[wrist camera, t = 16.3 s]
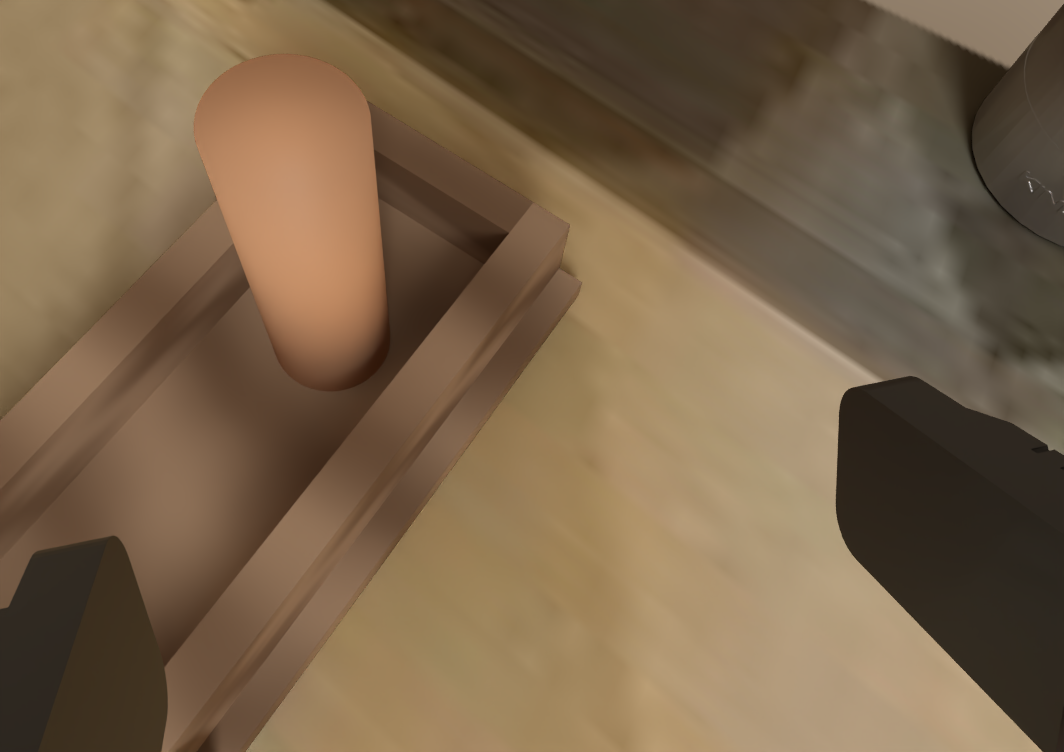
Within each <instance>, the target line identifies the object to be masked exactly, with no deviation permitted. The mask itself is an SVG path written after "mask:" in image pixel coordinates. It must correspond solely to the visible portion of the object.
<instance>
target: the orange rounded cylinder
mask: <svg viewBox="0 0 1064 752" xmlns="http://www.w3.org/2000/svg"><path fill="white" fill-rule="evenodd" d="M194 136H195V142H196V145H197V147H198V150H199V153H200V156H201V158H202V161H203V164H204V166H205V169H206V172H207V174H208V177H209V180H210V182H211V185H212V187H213V190H214V193H215V195H216V198H217V201H218V203H219V206H220V209H221V211H222V214H223V217H224V219H225V222H226V225H227V227H228V230H229V233H230V235H231V238H232V240H233V243H234V246H235V248H236V251H237V254H238V256H239V259H240V262H241V264H242V267H243V270H244V272H245V275H246V278H247V280H248V283H249V286H250V288H251V291H252V293H253V296H254V299H255V301H256V304H257V307H258V309H259V312H260V315H261V317H262V320H263V323H264V325H265V328H266V331H267V333H268V336H269V339H270V341H271V344H272V346H273V349H274V352H275V354H276V357H277V360H278V362H279V363H280V365H281V367H282V368H283V370H284V371H285V372H286V373H287V374H288V375H289V376H290V377H291V378H292V379H293V380H295V381H296V382H298V383H300V384H301V385H303V386H306V387H308V388H311V389H315V390H319V391H341V390H346V389H349V388H352V387H355V386H357V385H359V384H361V383H363V382H365V381H366V380H368V379H369V378H370V377H371V376H373V375H374V374H375V373H376V372H377V371H378V369H379V368H380V367H381V365H382V364H383V362H384V360H385V358H386V356H387V354H388V351H389V346H390V326H389V314H388V303H387V292H386V281H385V270H384V259H383V247H382V236H381V225H380V214H379V203H378V192H377V181H376V169H375V158H374V147H373V136H372V125H371V114H370V110H369V106H368V104H367V101H366V99H365V97H364V95H363V93H362V92H361V90H360V89H359V87H358V86H357V85H356V84H355V83H354V81H353V80H352V79H350V78H349V77H348V76H347V75H346V74H345V73H343V72H342V71H340V70H339V69H338V68H336V67H334V66H332V65H330V64H328V63H326V62H324V61H321V60H319V59H315V58H311V57H308V56H302V55H295V54H273V55H267V56H261V57H257V58H253V59H250V60H247V61H245V62H242V63H240V64H238V65H236V66H234V67H232V68H231V69H229V70H227V71H226V72H224V73H223V74H222V75H221V76H219V77H218V78H217V79H216V80H215V81H214V82H213V83H212V84H211V85H210V86H209V87H208V89H207V90H206V92H205V93H204V94H203V96H202V98H201V100H200V102H199V104H198V107H197V110H196V113H195V119H194Z"/></svg>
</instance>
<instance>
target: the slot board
mask: <svg viewBox="0 0 1064 752" xmlns="http://www.w3.org/2000/svg"><path fill="white" fill-rule="evenodd" d="M366 101H367V100H366ZM367 104H368V106H369V110H370V114H371V125H372V136H373V147H374V158H375V169H376V181H377V192H378V203H379V214H380V225H381V236H382V247H383V259H384V270H385V281H386V292H387V303H388V314H389V326H390V346H389V351H388V354H387V356H386V358H385V360H384V362H383V364H382V365H381V367H380V368H379V369H378V371H377V372H376V373H375V374H374V375H373V376H371V377H370V378H369V379H368V380H366V381H365V382H363V383H361V384H359V385H357V386H355V387H352V388H349V389H346V390H341V391H319V390H315V389H311V388H308V387H306V386H303V385H301V384H300V383H298V382H296V381H295V380H293V379H292V378H291V377H290V376H289V375H288V374H287V373H286V372H285V371H284V370H283V368H282V367H281V365H280V363H279V362H278V360H277V357H276V354H275V352H274V349H273V346H272V344H271V341H270V339H269V336H268V333H267V331H266V328H265V325H264V323H263V320H262V317H261V315H260V312H259V309H258V307H257V304H256V301H255V299H254V296H253V293H252V291H251V288H250V286H249V283H248V280H247V278H246V275H245V272H244V270H243V267H242V264H241V262H240V259H239V256H238V254H237V251H236V248H235V246H234V243H233V240H232V238H231V235H230V233H229V230H228V227H227V225H226V222H225V219H224V217H223V214H222V211H221V209H220V206H219V203H218V201H217V200H216V201H215V202H214V203H213V204H212V205H211V206H210V207H209V208H208V209H207V210H206V211H205V212H204V213H203V214H202V215H201V216H200V217H199V218H198V219H197V220H196V221H195V222H194V223H193V224H192V225H191V226H190V227H189V228H188V229H187V230H186V231H185V232H184V233H183V234H182V235H181V236H180V237H179V238H178V240H177V241H176V242H175V243H174V244H173V245H172V246H171V247H170V248H169V249H168V250H167V251H166V252H165V253H164V254H163V255H162V256H161V257H160V258H159V259H158V260H157V261H156V262H155V263H154V264H153V265H152V266H151V267H150V268H149V269H148V270H147V271H146V272H145V273H144V274H143V275H142V276H141V277H140V278H139V279H138V280H137V281H136V282H135V283H134V284H133V285H132V286H131V287H130V289H129V290H128V291H127V292H126V293H125V294H124V295H123V296H122V297H121V298H120V299H119V300H118V301H117V302H116V303H115V304H114V305H113V306H112V307H111V308H110V309H109V310H108V311H107V312H106V313H105V314H104V315H103V316H102V317H101V318H100V319H99V320H98V321H97V322H96V323H95V324H94V325H93V326H92V327H91V328H90V329H89V330H88V331H87V332H86V333H85V334H84V335H83V336H82V337H81V339H80V340H79V341H78V342H77V343H76V344H75V345H74V346H73V347H72V348H71V349H70V350H69V351H68V352H67V353H66V354H65V355H64V356H63V357H62V358H61V359H60V360H59V361H58V362H57V363H56V364H55V365H54V366H53V367H52V368H51V369H50V370H49V371H48V372H47V373H46V374H45V375H44V376H43V377H42V378H41V379H40V380H39V381H38V382H37V383H36V384H35V385H34V386H33V388H32V389H31V390H30V391H29V392H28V393H27V394H26V395H25V396H24V397H23V398H22V399H21V400H20V401H19V402H18V403H17V404H16V405H15V406H14V407H13V408H12V409H11V410H10V411H9V412H8V413H7V414H6V415H5V416H4V417H3V418H2V419H1V420H0V609H2V608H7V607H9V605H10V602H11V600H12V598H13V596H14V594H15V591H16V589H17V587H18V585H19V583H20V580H21V578H22V576H23V574H24V572H25V569H26V567H27V565H28V563H29V560H30V558H31V557H32V555H33V554H34V553H35V552H36V551H39V550H44V549H49V548H54V547H59V546H64V545H69V544H74V543H79V542H84V541H89V540H93V539H98V538H103V537H108V536H116V537H118V538H119V539H120V540H121V542H122V543H123V545H124V547H125V549H126V551H127V554H128V556H129V559H130V562H131V565H132V568H133V571H134V574H135V577H136V580H137V583H138V586H139V589H140V592H141V595H142V598H143V601H144V604H145V607H146V610H147V614H148V617H149V620H150V623H151V626H152V629H153V632H154V635H155V638H156V641H157V644H158V647H159V650H160V653H161V656H162V660H163V664H164V669H165V674H166V682H167V693H168V713H167V721H166V727H165V733H164V739H163V745H162V751H161V752H246V750H247V749H248V747H249V746H250V745H251V743H252V742H253V741H254V739H255V738H256V737H257V735H258V734H259V732H260V731H261V730H262V728H263V727H264V726H265V724H266V723H267V721H268V720H269V719H270V717H271V716H272V715H273V713H274V712H275V710H276V709H277V708H278V706H279V705H280V704H281V702H282V701H283V699H284V698H285V697H286V695H287V694H288V693H289V691H290V690H291V688H292V687H293V686H294V684H295V683H296V682H297V680H298V679H299V678H300V676H301V675H302V673H303V672H304V671H305V669H306V668H307V667H308V665H309V664H310V662H311V661H312V660H313V658H314V657H315V656H316V654H317V653H318V651H319V650H320V649H321V647H322V646H323V645H324V643H325V642H326V640H327V639H328V638H329V636H330V635H331V634H332V632H333V631H334V629H335V628H336V627H337V625H338V624H339V623H340V621H341V620H342V619H343V617H344V616H345V614H346V613H347V612H348V610H349V609H350V608H351V606H352V605H353V603H354V602H355V601H356V599H357V598H358V597H359V595H360V594H361V592H362V591H363V590H364V588H365V587H366V586H367V584H368V583H369V581H370V580H371V579H372V577H373V576H374V575H375V573H376V572H377V570H378V569H379V568H380V566H381V565H382V564H383V562H384V561H385V560H386V558H387V557H388V555H389V554H390V553H391V551H392V550H393V549H394V547H395V546H396V544H397V543H398V542H399V540H400V539H401V538H402V536H403V535H404V533H405V532H406V531H407V529H408V528H409V527H410V525H411V524H412V522H413V521H414V520H415V518H416V517H417V516H418V514H419V513H420V511H421V510H422V509H423V507H424V506H425V505H426V503H427V502H428V501H429V499H430V498H431V496H432V495H433V494H434V492H435V491H436V490H437V488H438V487H439V485H440V484H441V483H442V481H443V480H444V479H445V477H446V476H447V474H448V473H449V472H450V470H451V469H452V468H453V466H454V465H455V463H456V462H457V461H458V459H459V458H460V457H461V455H462V454H463V453H464V451H465V450H466V448H467V447H468V446H469V444H470V443H471V442H472V440H473V439H474V437H475V436H476V435H477V433H478V432H479V431H480V429H481V428H482V426H483V425H484V424H485V422H486V421H487V420H488V418H489V417H490V415H491V414H492V413H493V411H494V410H495V409H496V407H497V406H498V404H499V403H500V402H501V400H502V399H503V398H504V396H505V395H506V394H507V392H508V391H509V389H510V388H511V387H512V385H513V384H514V383H515V381H516V380H517V378H518V377H519V376H520V374H521V373H522V372H523V370H524V369H525V367H526V366H527V365H528V363H529V362H530V361H531V359H532V358H533V356H534V355H535V354H536V352H537V351H538V350H539V348H540V347H541V345H542V344H543V343H544V341H545V340H546V339H547V337H548V336H549V335H550V333H551V332H552V330H553V329H554V328H555V326H556V325H557V324H558V322H559V321H560V319H561V318H562V317H563V315H564V314H565V313H566V311H567V310H568V308H569V307H570V306H571V304H572V303H573V302H574V300H575V299H576V297H577V296H578V294H579V291H580V288H581V285H582V282H581V281H579V280H578V279H576V278H574V277H573V276H571V275H570V274H568V273H566V272H565V271H563V270H561V269H560V264H561V260H562V256H563V252H564V248H565V244H566V240H567V236H568V232H569V228H570V224H568V223H566V222H565V221H563V220H561V219H560V218H558V217H556V216H555V215H553V214H552V213H550V212H548V211H547V210H545V209H543V208H542V207H540V206H538V205H537V204H535V203H534V202H532V201H530V200H529V199H527V198H525V197H524V196H522V195H520V194H519V193H517V192H516V191H514V190H512V189H511V188H509V187H507V186H506V185H504V184H502V183H501V182H499V181H498V180H496V179H494V178H493V177H491V176H489V175H488V174H486V173H484V172H483V171H481V170H480V169H478V168H476V167H475V166H473V165H471V164H470V163H468V162H466V161H465V160H463V159H462V158H460V157H458V156H457V155H455V154H453V153H452V152H450V151H448V150H447V149H445V148H443V147H442V146H440V145H439V144H437V143H435V142H434V141H432V140H430V139H429V138H427V137H425V136H424V135H422V134H421V133H419V132H417V131H416V130H414V129H412V128H411V127H409V126H407V125H406V124H404V123H403V122H401V121H399V120H398V119H396V118H394V117H393V116H391V115H389V114H388V113H386V112H385V111H383V110H381V109H380V108H378V107H376V106H375V105H373V104H371V103H370V102H368V101H367Z"/></svg>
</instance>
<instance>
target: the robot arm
mask: <svg viewBox="0 0 1064 752" xmlns="http://www.w3.org/2000/svg"><path fill="white" fill-rule="evenodd" d="M972 149H973V153H974V157H975V161H976V164H977V168H978V170H979V172H980V174H981V176H982V178H983V180H984V182H985V184H986V186H987V188H988V189H989V190H990V191H991V193H992V194H993V195H994V197H995V198H996V199H997V201H998V202H999V203H1000V205H1001V206H1002V207H1003V208H1004V209H1006V210H1007V211H1008V212H1009V213H1010V214H1011V215H1012V216H1013V217H1014V218H1015V219H1016V220H1017V221H1018V222H1020V223H1021V224H1023V225H1024V226H1026V227H1027V228H1029V229H1030V230H1032V231H1033V232H1034V233H1036V234H1037V235H1039V236H1041V237H1043V238H1045V239H1047V240H1049V241H1052V242H1054V243H1056V244H1058V245H1060V246H1063V247H1064V4H1063V5H1062V7H1061V8H1060V9H1059V10H1058V11H1057V13H1056V14H1055V15H1054V16H1053V18H1052V19H1051V20H1050V21H1049V22H1048V24H1047V25H1046V26H1045V27H1044V29H1043V30H1042V31H1041V32H1040V33H1039V34H1038V35H1037V36H1036V37H1035V39H1034V40H1033V41H1032V43H1031V44H1030V45H1029V46H1028V47H1027V48H1026V50H1025V51H1024V52H1023V53H1022V55H1021V56H1020V57H1019V58H1018V59H1017V61H1016V62H1015V63H1014V64H1013V65H1012V67H1011V68H1010V69H1009V70H1008V72H1007V73H1006V74H1005V75H1004V76H1003V78H1002V79H1001V80H1000V81H999V82H998V84H997V85H996V86H995V87H994V89H993V90H992V91H991V92H990V93H989V95H988V96H987V97H986V98H985V100H984V101H983V103H982V105H981V106H980V108H979V110H978V111H977V113H976V116H975V120H974V124H973V128H972ZM836 514H837V520H838V524H839V528H840V531H841V534H842V537H843V539H844V541H845V543H846V545H847V547H848V549H849V551H850V552H851V553H852V555H853V556H854V557H855V558H856V560H857V561H858V562H859V563H860V564H861V565H862V566H863V567H864V568H865V569H866V570H867V571H868V572H869V573H870V574H871V575H872V576H873V577H874V578H875V579H876V580H877V581H878V582H879V583H880V584H881V585H882V586H883V587H884V588H885V590H886V591H887V592H888V593H889V594H890V595H891V596H892V597H893V598H894V599H895V600H896V601H897V602H898V603H899V604H900V605H901V606H902V607H903V608H904V609H905V610H906V611H907V612H908V613H909V614H910V615H911V616H912V617H913V618H914V619H915V620H916V621H917V622H918V624H919V625H920V626H921V627H922V628H923V629H924V630H925V631H926V632H927V633H928V634H929V635H930V636H931V637H932V638H933V639H934V640H935V641H936V642H937V643H938V644H939V645H940V646H941V647H942V648H943V649H944V650H945V651H946V652H947V653H948V654H949V655H950V656H951V658H952V659H953V660H954V661H955V662H956V663H957V664H958V665H959V666H960V667H961V668H962V669H963V670H964V671H965V672H966V673H967V674H968V675H969V676H970V677H971V678H972V679H973V680H974V681H975V682H976V683H977V684H978V685H979V686H980V687H981V688H982V689H983V690H984V692H985V693H986V694H987V695H988V696H989V697H990V698H991V699H992V700H993V701H994V702H995V703H996V704H997V705H998V706H999V707H1000V708H1001V709H1002V710H1003V711H1004V712H1005V713H1006V714H1007V715H1008V716H1009V717H1010V718H1011V719H1012V720H1013V721H1014V722H1015V723H1016V724H1017V726H1018V727H1019V728H1020V729H1021V730H1022V731H1023V732H1024V733H1025V734H1026V735H1027V736H1028V737H1029V738H1030V739H1031V740H1032V741H1033V742H1034V743H1035V744H1036V745H1037V746H1038V747H1039V748H1040V749H1041V750H1042V751H1043V752H1064V455H1062V454H1061V453H1059V452H1058V451H1056V450H1051V451H1049V450H1048V447H1047V445H1046V444H1045V443H1043V442H1041V441H1040V440H1038V439H1036V438H1035V437H1033V436H1032V435H1030V434H1028V433H1027V432H1025V431H1024V430H1022V429H1020V428H1019V427H1017V426H1015V425H1014V424H1012V423H1010V422H1007V421H1004V420H1001V419H998V418H995V417H992V416H989V415H986V414H983V413H980V412H977V411H974V410H971V409H968V408H965V407H964V406H962V405H960V404H959V403H957V402H956V401H954V400H953V399H951V398H949V397H948V396H946V395H945V394H943V393H942V392H940V391H939V390H937V389H935V388H934V387H932V386H931V385H929V384H928V383H926V382H924V381H923V380H921V379H919V378H917V377H913V376H908V377H903V378H898V379H893V380H888V381H883V382H878V383H873V384H868V385H863V386H858V387H853V388H850V389H848V390H847V391H846V392H845V394H844V395H843V397H842V400H841V404H840V410H839V432H838V458H837V485H836ZM167 713H168V693H167V682H166V674H165V669H164V664H163V660H162V656H161V653H160V650H159V647H158V644H157V641H156V638H155V635H154V632H153V629H152V626H151V623H150V620H149V617H148V614H147V610H146V607H145V604H144V601H143V598H142V595H141V592H140V589H139V586H138V583H137V580H136V577H135V574H134V571H133V568H132V565H131V562H130V559H129V556H128V554H127V551H126V549H125V547H124V545H123V543H122V542H121V540H120V539H119V538H118V537H116V536H108V537H103V538H98V539H93V540H89V541H84V542H79V543H74V544H69V545H64V546H59V547H54V548H49V549H44V550H39V551H36V552H35V553H34V554H33V555H32V557H31V558H30V560H29V563H28V565H27V567H26V569H25V572H24V574H23V576H22V578H21V580H20V583H19V585H18V587H17V589H16V591H15V594H14V596H13V598H12V600H11V602H10V605H9V607H7V608H2V609H0V752H161V751H162V745H163V739H164V733H165V727H166V721H167Z"/></svg>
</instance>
